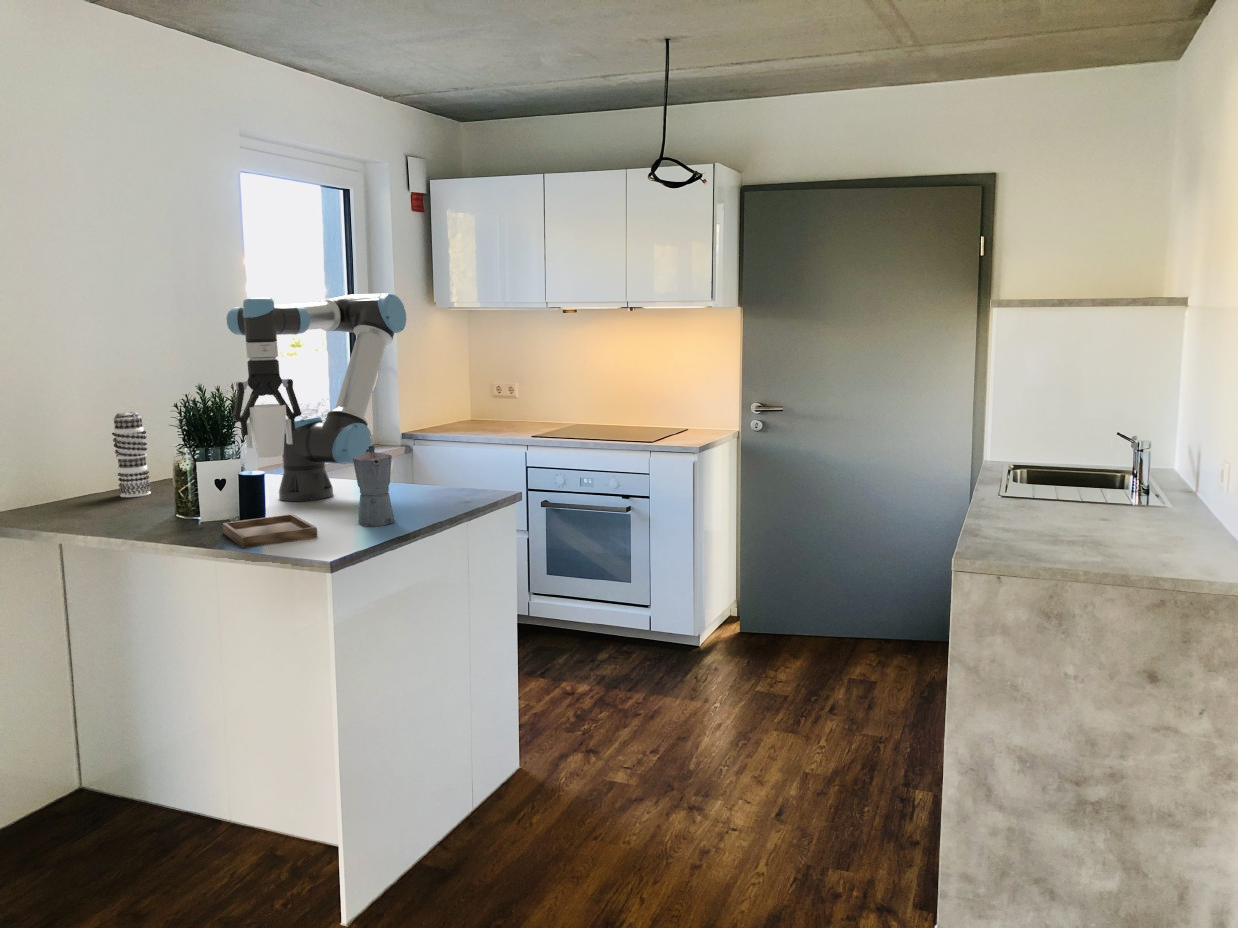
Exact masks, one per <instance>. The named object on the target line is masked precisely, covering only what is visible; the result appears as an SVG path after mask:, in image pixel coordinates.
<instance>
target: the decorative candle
mask: <svg viewBox="0 0 1238 928" xmlns="http://www.w3.org/2000/svg"><path fill="white" fill-rule="evenodd" d="M142 419H143V416H140V414H139V413H138V412H136V411H127V412H126V411H125V412H118V413H116V414H115V416H114V418H112V420H113V425H114V428H113V429H114V432H112V433H111V435H112V436H113V437H114V438H113V439H112V441H113V442H114V443H113V447H114V448H116V449H115V450H114V453H115V454H116V456H115V458H116V459H117V463H118V469H117V470H118V473H117V476H118V477H119V478H118V479H117V480H118V481H119V482H120V483H118V487H119V492H118V493H120V495H119V496H120V497H121V498H136V497H144V496H148V495H151V493H152V491H150V490H151V486H150V485H151V482H150V480H149V479H150V476H149V475H148V474H149V473H150V471H149V470H148V465H147V459H146V457H147V456H148V454H147V453H146V451H147V450H148V448H147V447H145V446H146V445H147V444H148V443H147V442H145V441H144V440H146V439H147V435H145V434H147V431H146V430H144V426H143V420H142Z"/></svg>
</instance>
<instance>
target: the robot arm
mask: <svg viewBox="0 0 1238 928" xmlns="http://www.w3.org/2000/svg"><path fill="white" fill-rule="evenodd" d="M274 301H275V300H274V299H273V298H271V297H251V298H249V297H248V298H245V299H244V300H243V302H242V306H237V307H236V306H235V307H233V308H230V310H229V311H228V312H227V315H226V325H227V328H228V330H229V331H230V332H231V333H233V334H235V335H239V336H240V335H241V336H244V337H245V348H246V349H245V350H246V358H247V359H248V361H246V362H247V373H248V378H247V381H237V382H236V383H235V386H236V394H235V395H236V396H235V400H234V401H235V402H234V408H233V413H232V420H233V421H235V422H236V421H237V422H238V423H240V430H241V435H242V436H245V440H246V441H245V442H246V447H247V448H248V449H253V446H254V445H253V440H252V439H253V437H252V436H253V434H252V429H251V423H250V421H249V416H250V407H254V405H256V403H257V401H258V399H259V397H262V396H273V397H274V398H275V400H276V401H277V404H279V405H280V406H282V405H286V413H287V414H286V417H287V418H286V419H285V437H284V452H283V455H282V456H281V457H282V467H283V473H282V478H281V482H280V486H279V490H278V496H279V500H281V501H285V502H304V501H305V502H306V501H315V500H322V499H327V498H331V497H332V496H333V495H334V488H333V484H332V483H331V480H330V478H329V476H328V473H327V470H326V464H340V465H350V464H353V465H354V462H353V458H355V457H356V456H358V455H362V454H365V452H366V450H367V449H368V450H369V448H368V447H370V446H372V438H371V437H372V432H371V430H370V428H369V427H368V425H369V423H368V421H367V419H366V418H365V416H366V412H367V411H368V410H367V409H368V406H369V402H370V399H371V396H372V392H373V388H374V385H375V382H376V379H377V375H378V371H379V369H380V365H381V363H382V358H383V355H384V351H385V349H386V348H385V347H386V346H389V345H391V344H392V342H393V339H394V336H395V334H398V333H399V334H400V333H401V332H402V331H404V330H405V327H406V324H407V313H406V309H405V305H404V303H403V302H402V299H401V298H399V296H397V295H396V294H394V293H384V292H380V293H361V294H360V293H357V294H356V293H355V294H353V293H352V294H347V295H342V296H338V297H333V298H332V297H331V298H323V299H320V300H319V301H318V302H310V303H309V302H306V303H290V304H275V302H274ZM308 330H323V331H326V332H343V333H344V332H345V333H352V334H353V333H354V335H355V341H354V345H353V348H352V352H351V354H350V358H349V361H348V365H347V368H346V371H345V374H344V377H343V380H342V384H341V388H340V389H339V390H340V391H339V395H338V398H337V401H336V404H335V407H334V409H332V410H329V411H328V412H327V414H326V416H325V417H326V418H325V420H323V419H322V417H321V416H313V417H306V418H300V419H296V418H297V417H300V416H302V411H301V408H300V405H299V402H298V398H297V396H296V393H295V391H294V380H293V379H291V378H286V379H284V378H283V379H282V378H281V375H280V363H279V362H280V361H279V360H278V359H277V358H278V357H279V354H278V353H279V351H278V337H277V336H278V335H280V336H281V335H284V336H285V335H299V334H304V333H306V331H308ZM281 385H283V387H284V388H285V390H286V394H287V397H288V399H289V403H290V405H291V408H292V409H291V408H290V406H289V405H288V404H287V403H288V402H286V400H285V399H284V397H283V396H282V393H281V392H280V391H279V388H280V386H281ZM247 387H249V388H250V389H251V390H252V391H251V393H250V394H249V399H248V401H247V403H246V405H245V406H244V407H245V408H244V410H243V412H242V408H243V403H244V396H245V390H247ZM323 421H324V422H323Z"/></svg>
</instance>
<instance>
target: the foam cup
mask: <svg viewBox="0 0 1238 928" xmlns="http://www.w3.org/2000/svg"><path fill="white" fill-rule="evenodd" d="M286 414H287V413H286V405H282V406H280V405H279V403H267V404H266V403H265V404H255V405H254V407H250V416H249V418H248V421H249V422H250V423H251V434H252V436H253V437H252V439H253V441H254V445H255V446H254V447H255V451H256V454H257V457H258V458H275V457H282V455H283V452H284V437H285V419H287V418H286V417H287V415H286Z"/></svg>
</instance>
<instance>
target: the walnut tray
mask: <svg viewBox="0 0 1238 928" xmlns="http://www.w3.org/2000/svg"><path fill="white" fill-rule="evenodd" d="M222 533H223V534H224V535H225V536H226V537H228V538H229V539H230V540H232V541H233V542H234V543H235V544H237V545H238V546H239V547H241V548H242V549H250V548H258V547H262V546H268V545H269V546H270V545H276V544H282V543H283V544H284V543H289V542H290V543H291V542H297V541H303V540H310V539H317V538H318V528H317V526H315V525H314V524H312V523H309V522H308V521H307V520H305V519H302V518H301V517H300V516H299V517H298V516H297V515H296V514H294V513H288V514H281V515H272V516H268V517H267V516H266V517H260V518H252V519H251V518H250V519H243V520H237V521H228V522H223V523H222Z"/></svg>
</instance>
